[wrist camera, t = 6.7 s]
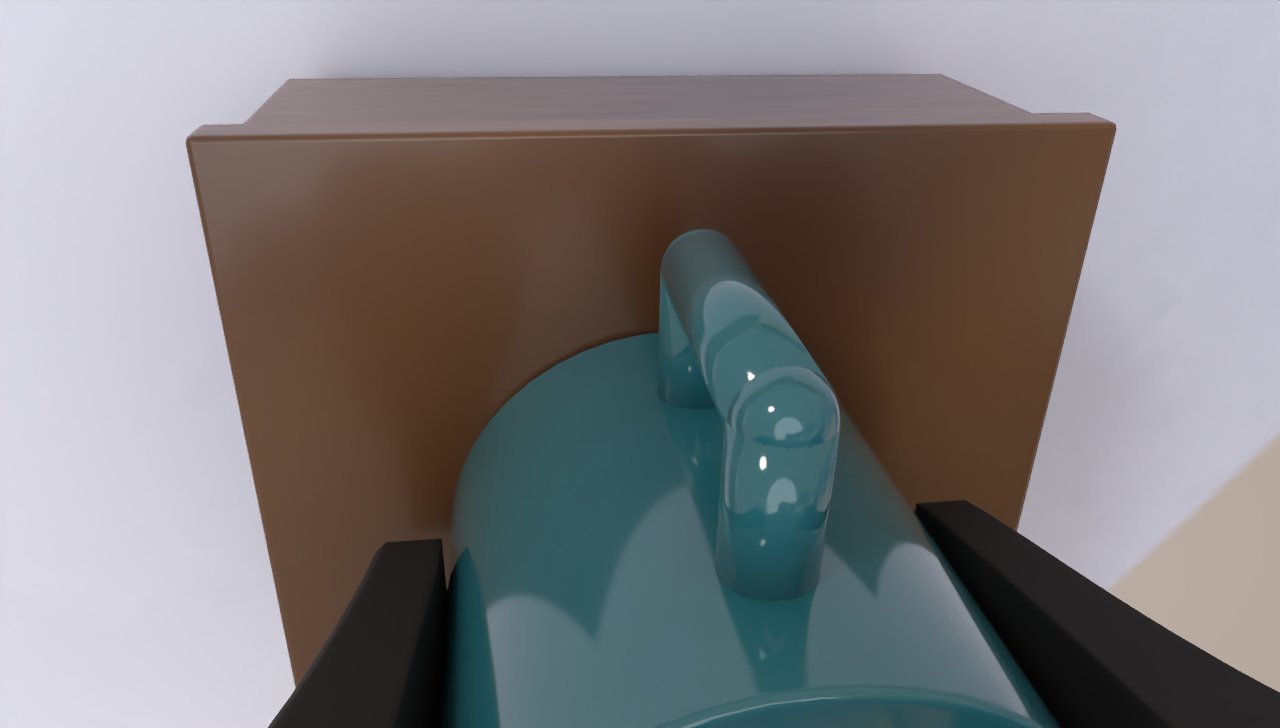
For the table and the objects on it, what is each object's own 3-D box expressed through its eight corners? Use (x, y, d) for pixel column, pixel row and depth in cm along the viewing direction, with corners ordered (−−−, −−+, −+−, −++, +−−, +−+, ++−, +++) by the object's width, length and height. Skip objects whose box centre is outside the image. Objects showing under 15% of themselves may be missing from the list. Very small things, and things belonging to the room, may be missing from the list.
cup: (913, 179, 11) (1343, 480, 5) (841, 655, 14) (1059, 1137, 8) (421, 191, 10) (342, 553, 5) (465, 690, 13) (450, 1242, 8)
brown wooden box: (952, 51, 15) (1145, 122, 11) (871, 552, 20) (982, 747, 15) (280, 54, 14) (182, 137, 9) (361, 592, 18) (321, 820, 14)
